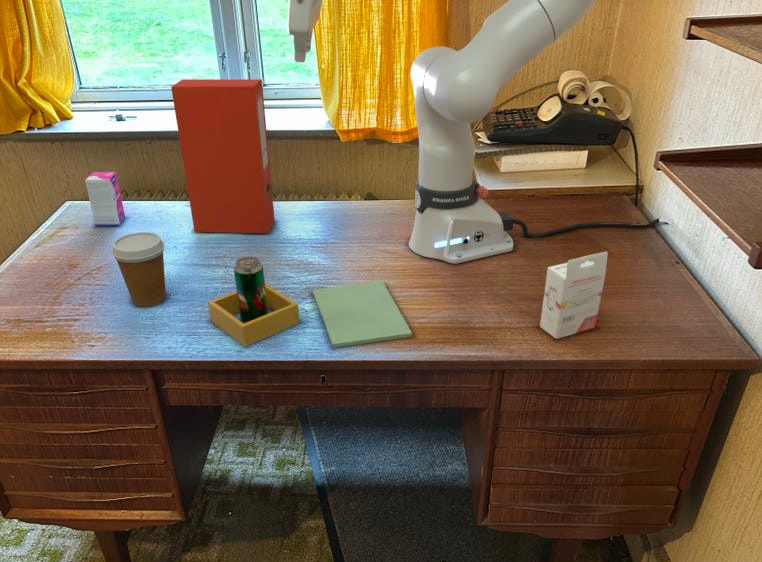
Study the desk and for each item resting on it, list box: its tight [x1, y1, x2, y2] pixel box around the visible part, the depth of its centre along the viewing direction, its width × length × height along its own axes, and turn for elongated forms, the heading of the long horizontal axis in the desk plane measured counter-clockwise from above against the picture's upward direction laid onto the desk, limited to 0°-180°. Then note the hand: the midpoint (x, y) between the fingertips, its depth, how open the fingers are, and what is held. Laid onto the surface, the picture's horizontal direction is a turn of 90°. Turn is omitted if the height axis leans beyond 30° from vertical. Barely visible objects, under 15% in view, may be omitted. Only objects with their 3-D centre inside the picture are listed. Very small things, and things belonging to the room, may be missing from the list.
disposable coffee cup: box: [110, 231, 167, 308], centre depth 127 cm, size 10×10×12 cm
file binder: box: [170, 78, 275, 234], centre depth 150 cm, size 8×17×32 cm, turn 84°
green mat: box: [312, 280, 413, 349], centre depth 124 cm, size 14×20×1 cm
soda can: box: [233, 256, 269, 323], centre depth 119 cm, size 5×5×12 cm
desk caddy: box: [207, 283, 301, 348], centre depth 121 cm, size 12×12×4 cm
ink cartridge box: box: [539, 251, 609, 340], centre depth 114 cm, size 9×5×15 cm, turn 114°
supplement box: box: [84, 171, 126, 228], centre depth 160 cm, size 6×6×12 cm
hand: (302, 56), depth 119 cm, fingers open, 8 cm apart
